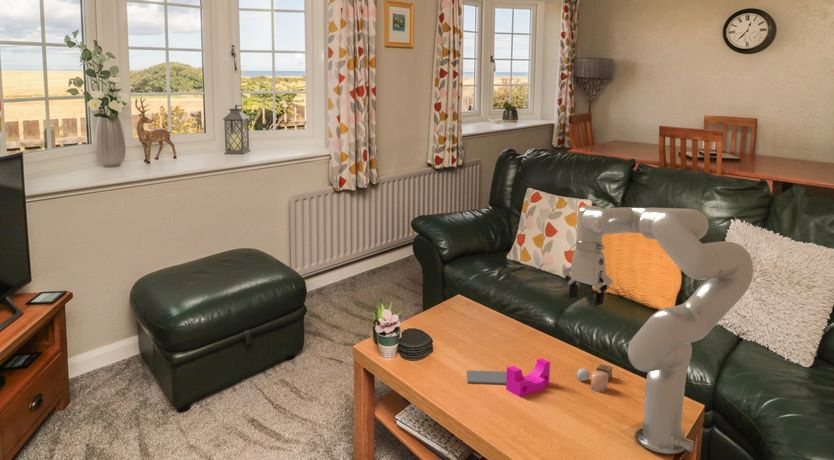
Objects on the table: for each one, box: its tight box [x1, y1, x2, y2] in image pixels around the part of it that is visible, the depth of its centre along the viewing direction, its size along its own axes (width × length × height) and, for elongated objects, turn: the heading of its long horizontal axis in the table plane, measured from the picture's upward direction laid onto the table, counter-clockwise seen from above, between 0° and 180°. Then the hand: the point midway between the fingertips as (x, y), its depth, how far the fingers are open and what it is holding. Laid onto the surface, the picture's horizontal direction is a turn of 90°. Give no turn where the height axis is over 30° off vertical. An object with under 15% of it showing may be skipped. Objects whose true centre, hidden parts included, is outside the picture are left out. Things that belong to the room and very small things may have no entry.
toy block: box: [505, 358, 551, 398], centre depth 182 cm, size 15×6×8 cm, turn 123°
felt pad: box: [466, 370, 507, 386], centre depth 189 cm, size 17×9×1 cm, turn 86°
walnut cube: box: [596, 363, 613, 383], centre depth 190 cm, size 4×4×4 cm
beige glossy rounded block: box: [590, 370, 609, 393], centre depth 182 cm, size 5×5×5 cm
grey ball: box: [576, 368, 590, 382], centre depth 188 cm, size 4×4×4 cm
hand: (585, 300), depth 179 cm, fingers open, 9 cm apart
